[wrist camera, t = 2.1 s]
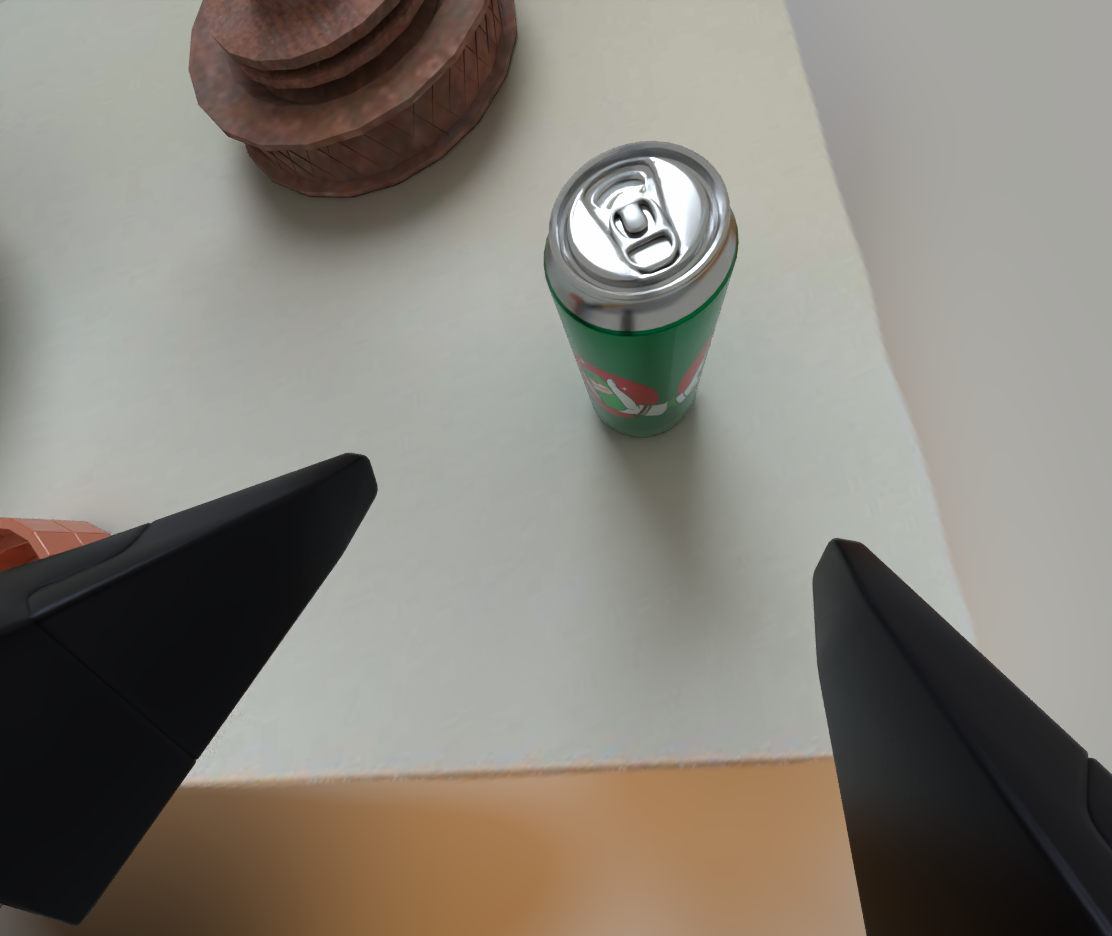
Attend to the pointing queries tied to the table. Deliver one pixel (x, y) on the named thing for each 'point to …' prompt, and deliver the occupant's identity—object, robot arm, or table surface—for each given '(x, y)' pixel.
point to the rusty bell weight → (348, 83)
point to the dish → (41, 539)
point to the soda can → (641, 278)
